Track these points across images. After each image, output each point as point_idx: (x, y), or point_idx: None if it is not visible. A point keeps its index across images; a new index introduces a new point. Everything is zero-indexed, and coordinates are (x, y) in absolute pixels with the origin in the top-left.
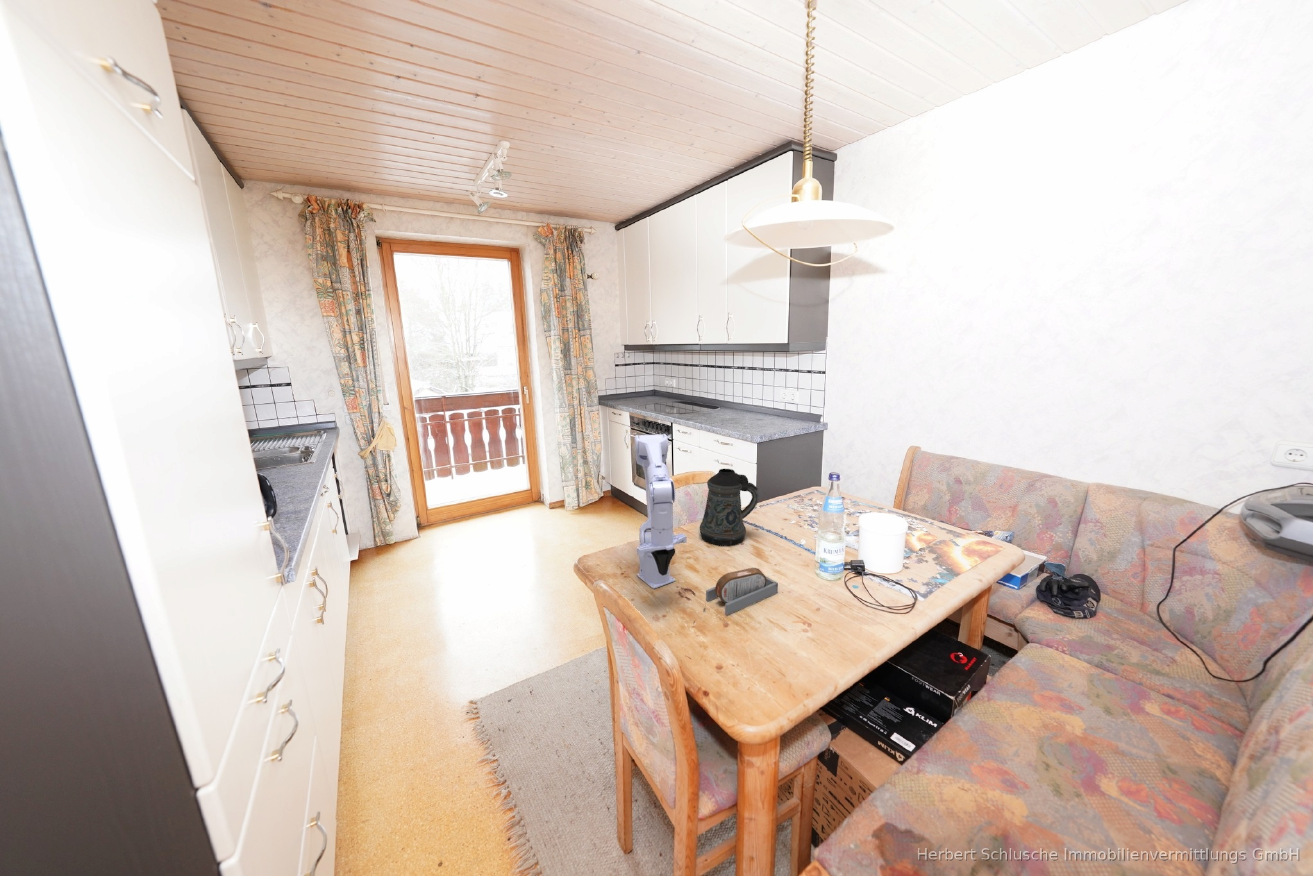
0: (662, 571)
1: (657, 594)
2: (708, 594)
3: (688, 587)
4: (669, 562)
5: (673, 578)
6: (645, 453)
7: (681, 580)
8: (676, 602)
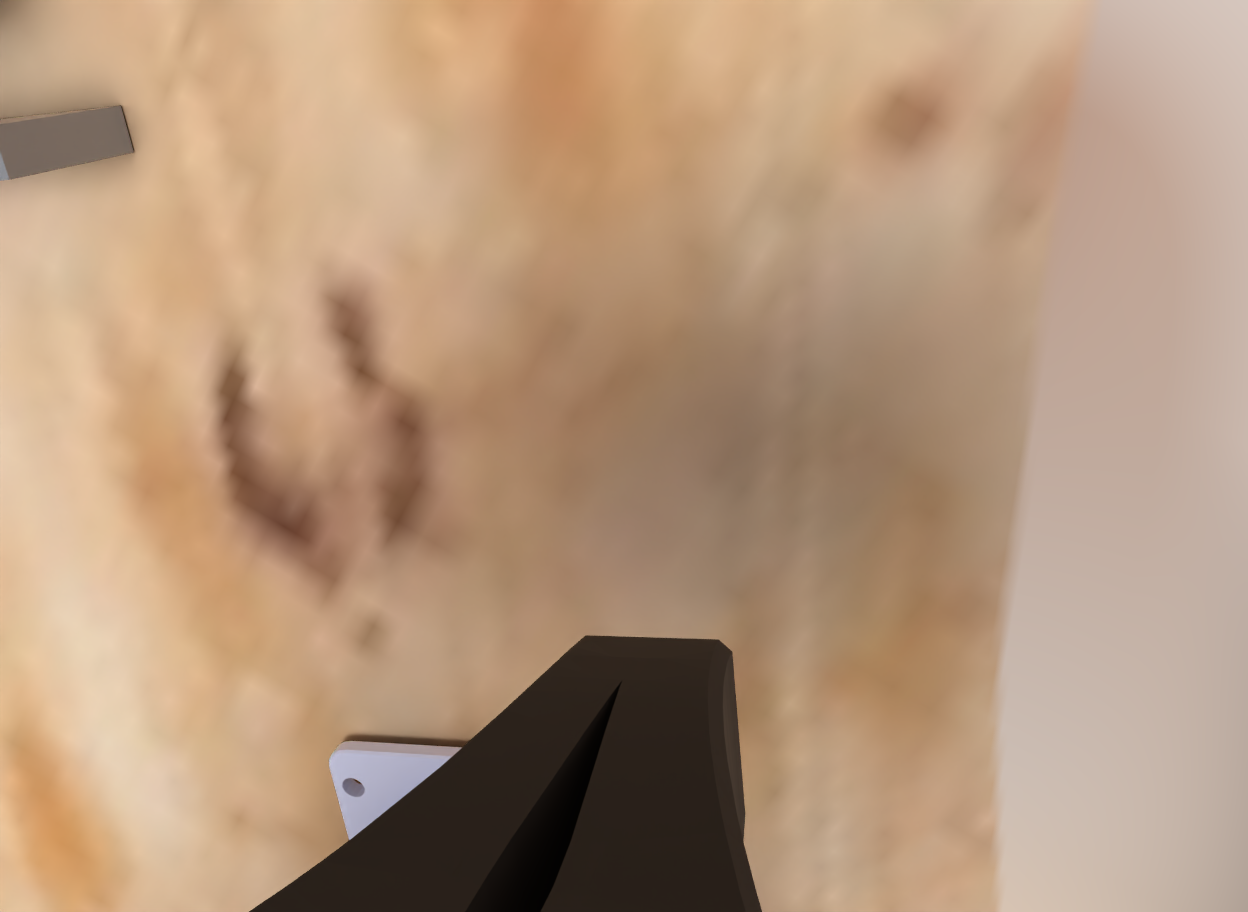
0: (725, 726)
1: None
2: (25, 122)
3: (243, 545)
4: (329, 883)
5: (343, 785)
6: None
7: (266, 711)
8: (547, 338)
